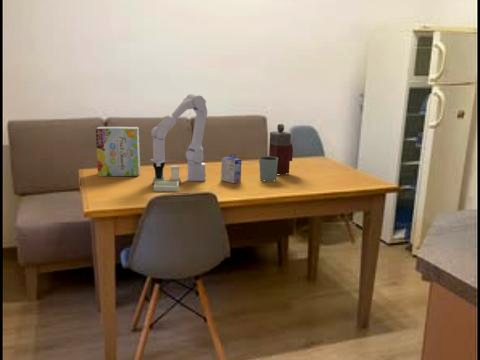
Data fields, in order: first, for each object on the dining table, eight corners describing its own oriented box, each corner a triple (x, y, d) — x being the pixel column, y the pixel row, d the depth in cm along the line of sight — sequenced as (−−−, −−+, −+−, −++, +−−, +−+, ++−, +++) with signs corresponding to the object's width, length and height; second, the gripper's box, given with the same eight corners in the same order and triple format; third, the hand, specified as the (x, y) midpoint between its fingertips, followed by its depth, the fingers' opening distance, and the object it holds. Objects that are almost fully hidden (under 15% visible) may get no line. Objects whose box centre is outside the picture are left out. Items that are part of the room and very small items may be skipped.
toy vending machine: (292, 174, 282) (295, 124, 275) (274, 175, 278) (277, 125, 271) (285, 170, 290) (288, 122, 283) (268, 172, 286) (270, 123, 279)
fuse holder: (181, 181, 258) (181, 176, 257) (181, 185, 251) (181, 180, 250) (153, 181, 256) (153, 176, 256) (152, 185, 249) (152, 180, 249)
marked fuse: (163, 180, 255) (163, 165, 253) (163, 182, 252) (162, 166, 250) (155, 180, 254) (155, 165, 252) (155, 182, 251) (154, 166, 249)
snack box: (140, 173, 275) (139, 126, 268) (138, 176, 266) (137, 128, 260) (100, 172, 273) (98, 125, 267) (97, 176, 264) (95, 128, 258)
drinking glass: (275, 182, 262) (276, 160, 259) (256, 181, 264) (257, 159, 261) (278, 178, 271) (279, 156, 268) (259, 177, 273) (260, 155, 270)
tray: (178, 185, 250) (178, 181, 249) (178, 191, 240) (178, 186, 239) (155, 185, 248) (155, 181, 248) (154, 191, 238) (153, 186, 238)
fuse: (179, 180, 256) (179, 165, 254) (179, 182, 253) (179, 166, 251) (171, 180, 255) (171, 165, 253) (171, 182, 252) (171, 166, 250)
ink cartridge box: (241, 182, 261) (242, 154, 258) (234, 183, 257) (234, 156, 254) (227, 178, 267) (228, 152, 264) (220, 180, 263) (221, 153, 260)
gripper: (151, 148, 256) (151, 174, 259) (149, 153, 242) (150, 180, 245) (165, 148, 257) (165, 174, 260) (164, 153, 243) (164, 180, 246)
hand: (159, 177), depth 252 cm, fingers open, 3 cm apart
